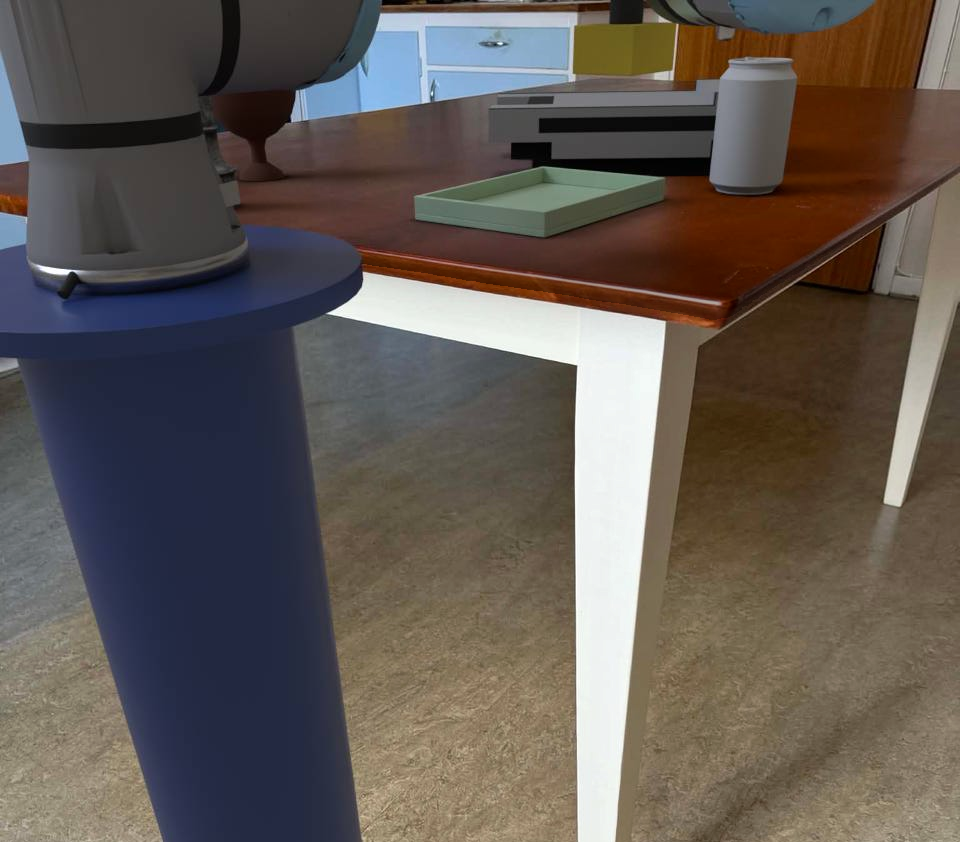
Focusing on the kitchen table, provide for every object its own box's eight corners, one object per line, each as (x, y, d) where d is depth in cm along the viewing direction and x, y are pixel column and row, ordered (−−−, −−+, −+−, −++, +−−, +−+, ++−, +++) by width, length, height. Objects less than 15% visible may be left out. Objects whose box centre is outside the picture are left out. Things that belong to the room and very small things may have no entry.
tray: (544, 237, 83) (544, 212, 81) (415, 219, 91) (413, 196, 89) (663, 200, 96) (665, 177, 95) (542, 187, 104) (542, 166, 103)
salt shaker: (237, 212, 96) (216, 75, 89) (179, 214, 96) (154, 76, 89) (246, 201, 101) (227, 71, 94) (191, 203, 100) (167, 72, 94)
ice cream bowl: (290, 185, 109) (272, 31, 100) (200, 184, 111) (174, 33, 102) (319, 170, 118) (304, 27, 109) (235, 170, 119) (214, 29, 111)
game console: (500, 152, 127) (499, 82, 122) (741, 150, 125) (749, 78, 120) (489, 177, 110) (488, 97, 105) (768, 175, 107) (779, 92, 103)
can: (752, 199, 96) (770, 60, 89) (693, 190, 100) (706, 58, 93) (795, 189, 99) (815, 56, 93) (736, 181, 104) (752, 54, 97)
